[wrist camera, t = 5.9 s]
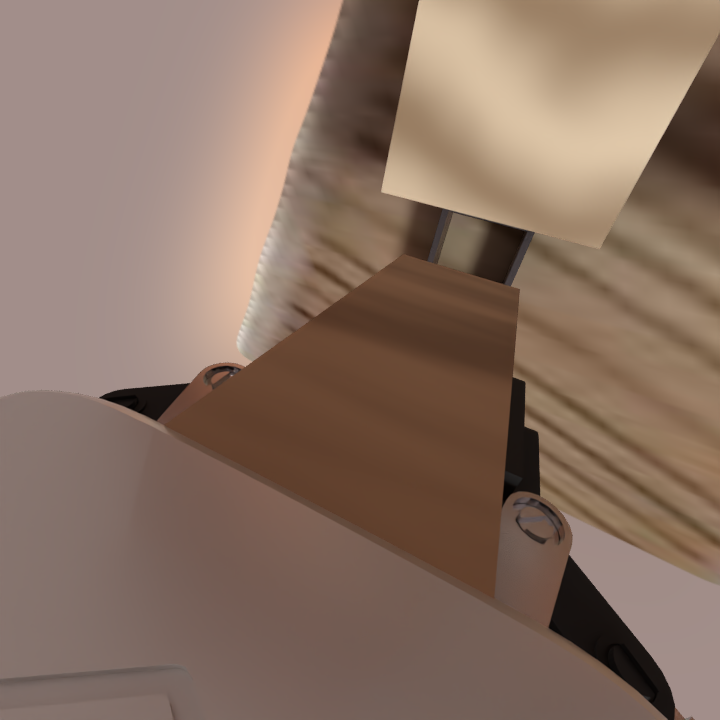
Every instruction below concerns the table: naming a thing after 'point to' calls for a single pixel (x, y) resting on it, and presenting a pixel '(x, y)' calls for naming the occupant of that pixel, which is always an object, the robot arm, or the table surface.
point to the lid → (542, 106)
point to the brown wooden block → (386, 413)
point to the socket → (447, 216)
